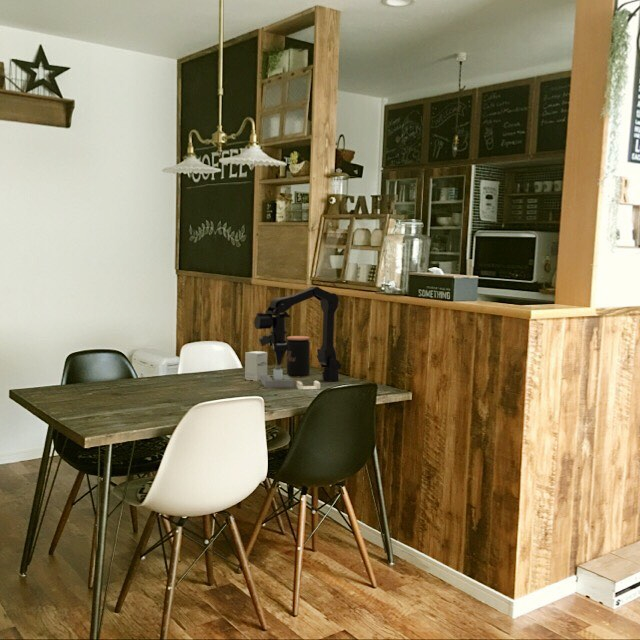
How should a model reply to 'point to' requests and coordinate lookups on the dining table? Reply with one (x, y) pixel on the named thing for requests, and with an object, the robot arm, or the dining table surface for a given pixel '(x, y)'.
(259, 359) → the supplement box
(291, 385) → the port panel
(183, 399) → the dining table surface
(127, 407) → the dining table surface
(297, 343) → the coffee jar
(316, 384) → the holster
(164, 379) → the dining table surface
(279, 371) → the plug
